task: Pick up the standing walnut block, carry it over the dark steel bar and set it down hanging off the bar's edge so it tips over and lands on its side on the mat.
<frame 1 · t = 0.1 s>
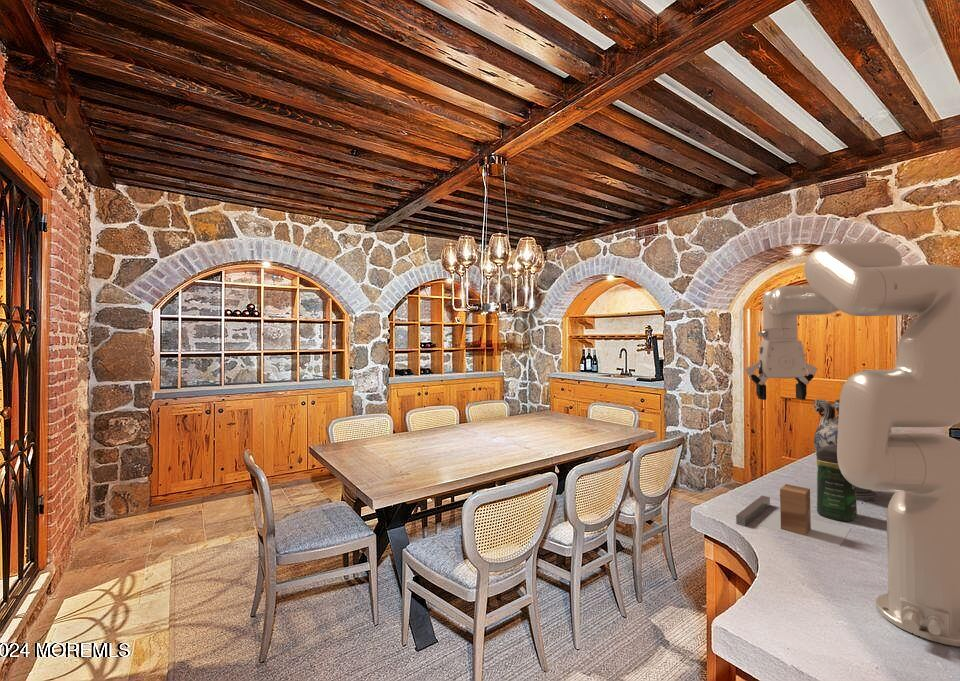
hand: (781, 399, 117), 31 cm above the countertop, tool pointing down, fingers open, 9 cm apart
decorative vase: (853, 494, 130), on the countertop
walnut block: (795, 529, 107), resting on mat
coffee jar: (837, 516, 115), on the countertop
mat: (803, 528, 108), on the countertop
steel bar: (754, 515, 117), on the countertop
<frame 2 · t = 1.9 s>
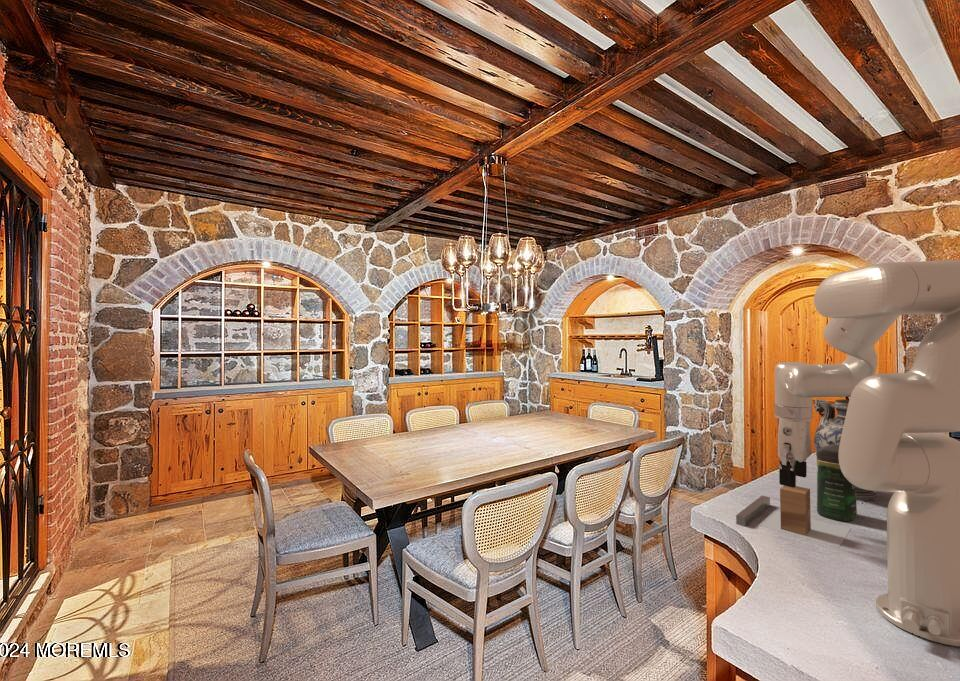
hand: (793, 480, 108), 12 cm above the countertop, tool pointing down, fingers open, 9 cm apart
nothing on the countertop moved.
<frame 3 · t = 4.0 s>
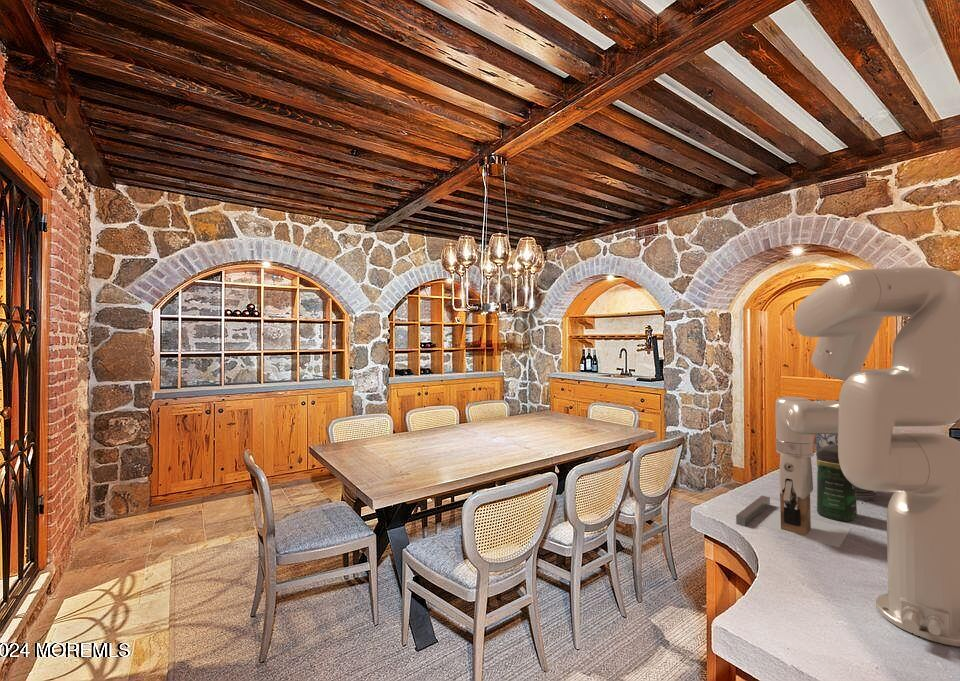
hand: (795, 520, 107), 3 cm above the countertop, tool pointing down, fingers closed on walnut block, 5 cm apart
walnut block: (795, 529, 107), resting on mat, touching gripper
everything else where it was.
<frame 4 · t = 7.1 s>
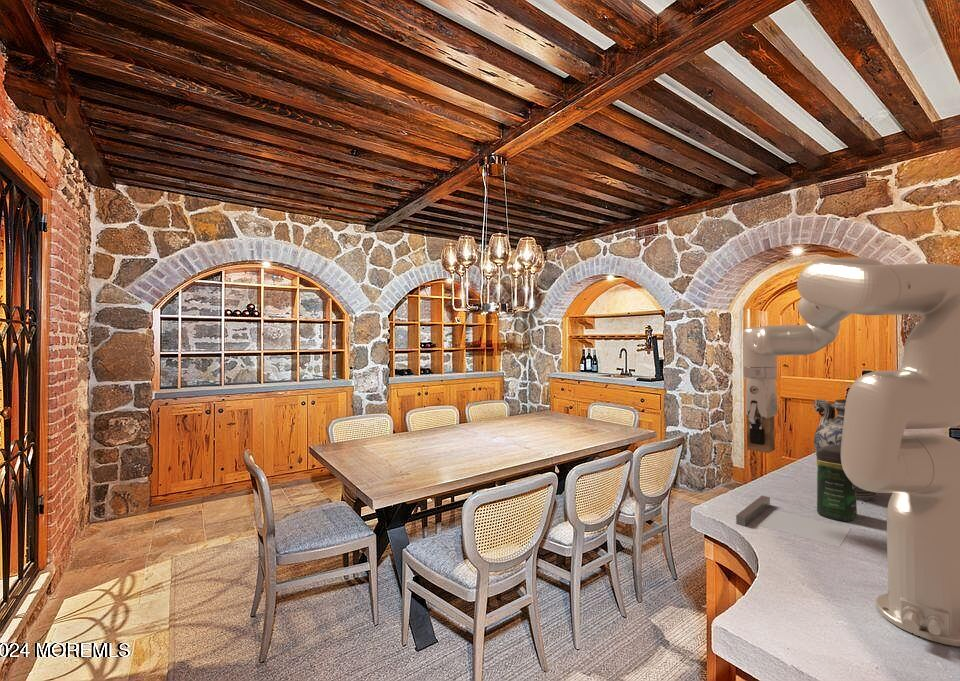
hand: (761, 441, 115), 20 cm above the countertop, tool pointing down, fingers closed on walnut block, 5 cm apart
walnut block: (761, 449, 115), point 18 cm above the countertop, touching gripper
everything else where it was.
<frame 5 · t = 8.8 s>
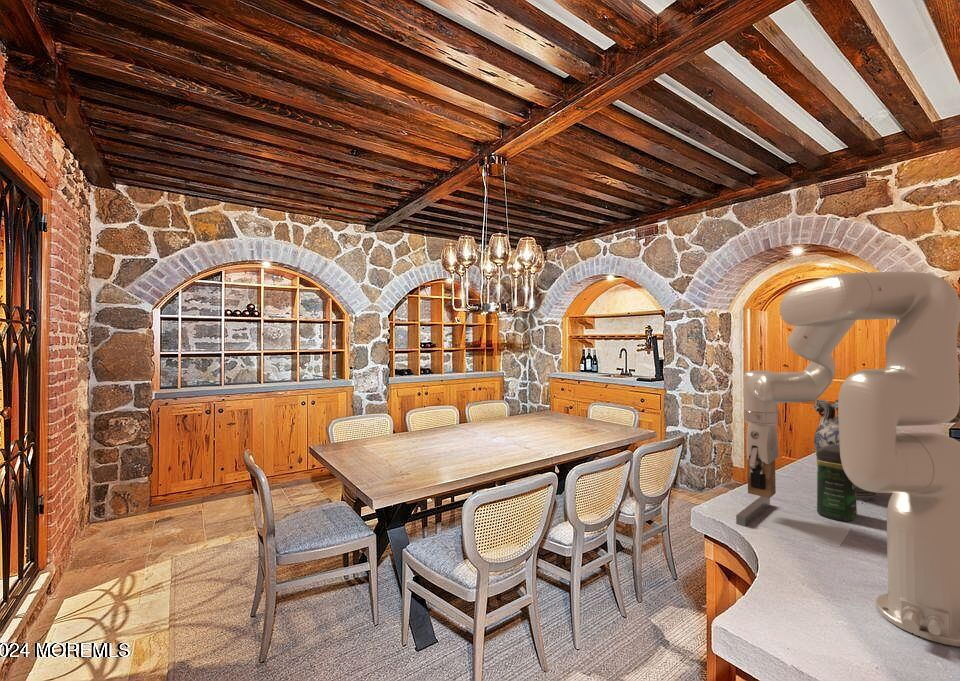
hand: (761, 484, 115), 9 cm above the countertop, tool pointing down, fingers closed on walnut block, 5 cm apart
walnut block: (761, 493, 115), point 6 cm above the countertop, touching gripper
everything else where it was.
when the fingers open (6 cm above the countertop, at t = 10.3 s): walnut block moves 2 cm and tips over, resting on mat.
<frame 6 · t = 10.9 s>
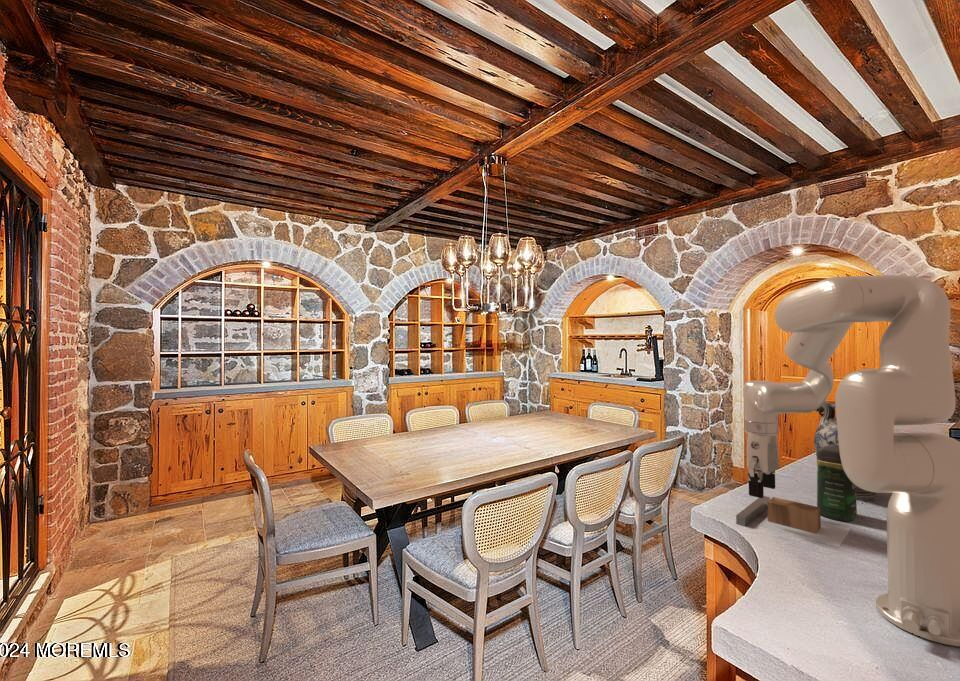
hand: (762, 491, 115), 7 cm above the countertop, tool pointing down, fingers open, 9 cm apart
walnut block: (770, 508, 114), point 3 cm above the countertop, tilted 90°, touching mat
everything else where it was.
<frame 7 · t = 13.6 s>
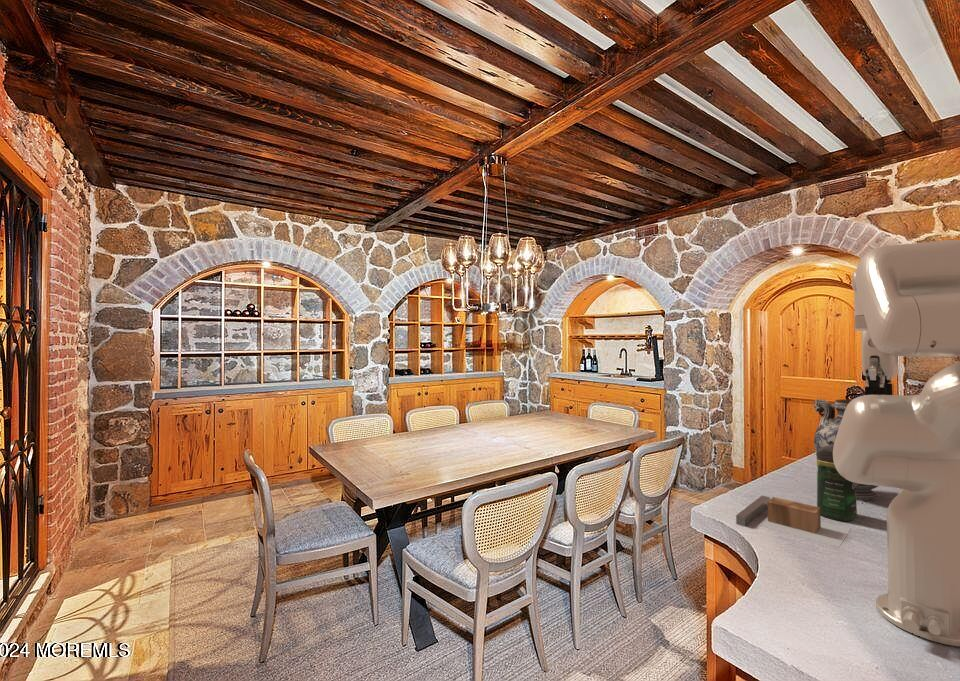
hand: (879, 403, 93), 33 cm above the countertop, tool pointing down, fingers open, 9 cm apart
nothing on the countertop moved.
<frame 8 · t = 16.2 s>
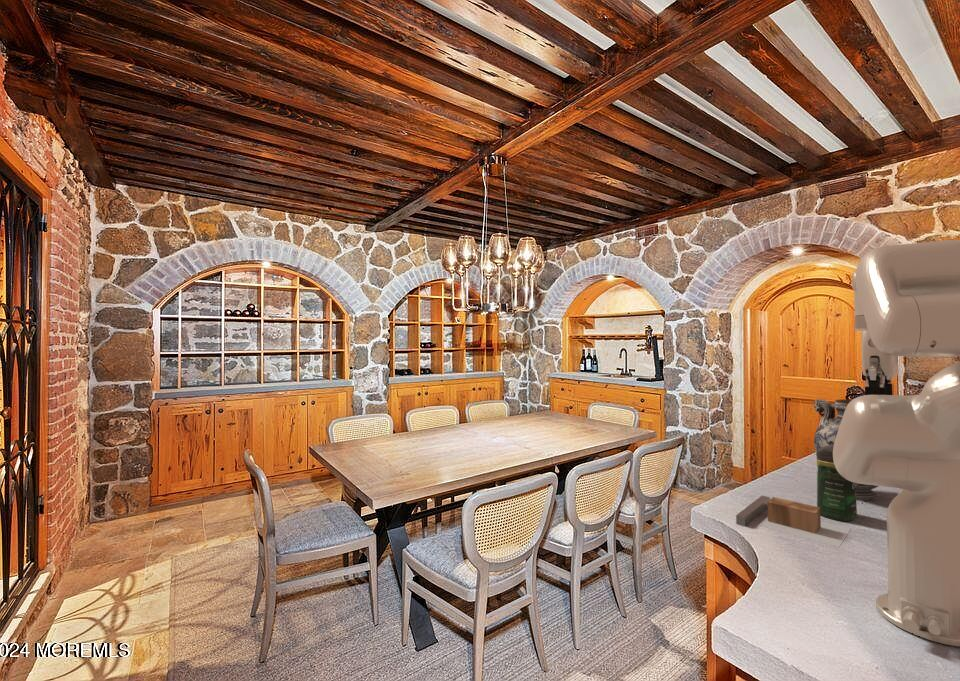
hand: (879, 403, 93), 33 cm above the countertop, tool pointing down, fingers open, 9 cm apart
nothing on the countertop moved.
at the end: walnut block tilted 90°; walnut block inside the target area (6.1 cm from its centre), point 2.8 cm above the countertop; the gripper is holding nothing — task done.
